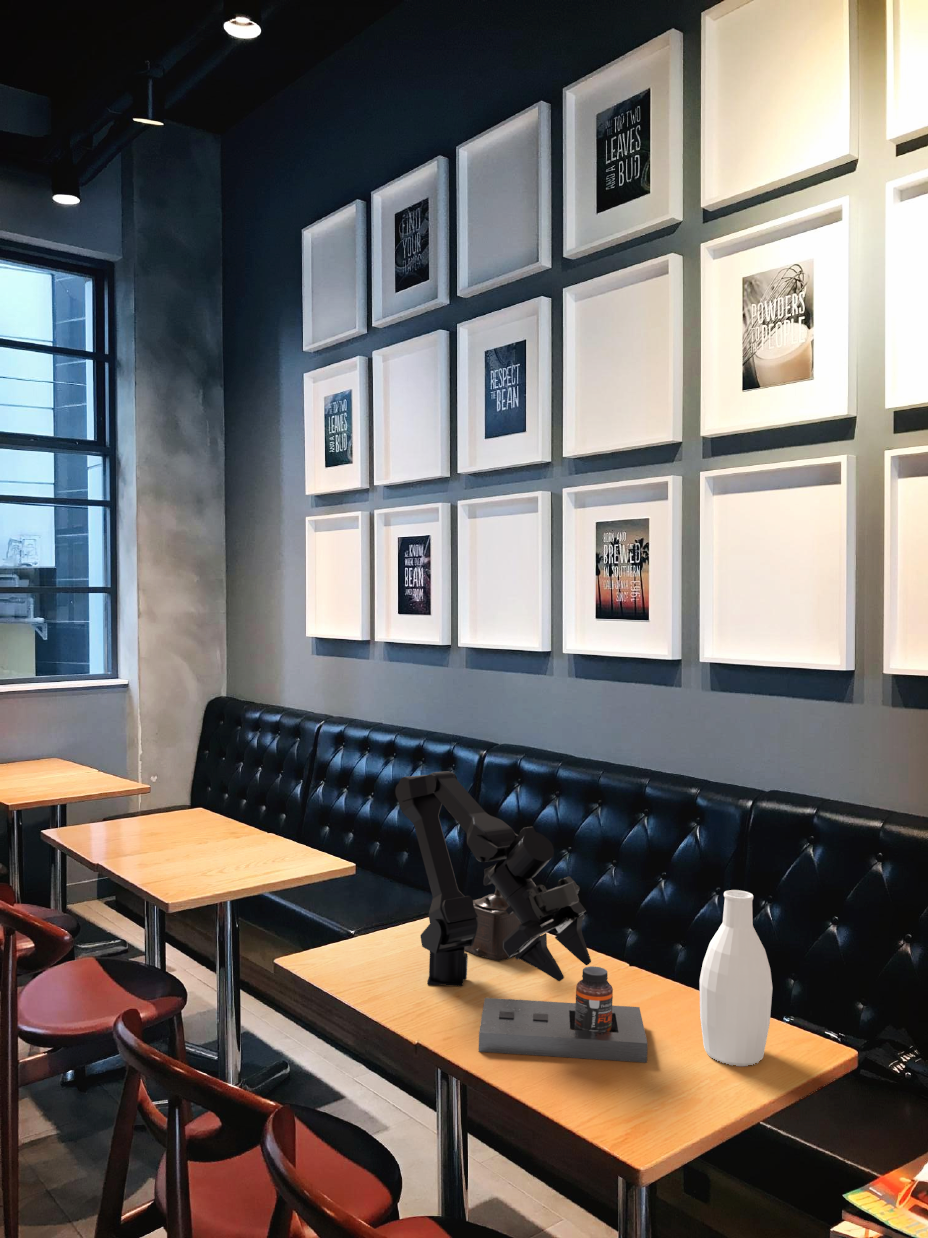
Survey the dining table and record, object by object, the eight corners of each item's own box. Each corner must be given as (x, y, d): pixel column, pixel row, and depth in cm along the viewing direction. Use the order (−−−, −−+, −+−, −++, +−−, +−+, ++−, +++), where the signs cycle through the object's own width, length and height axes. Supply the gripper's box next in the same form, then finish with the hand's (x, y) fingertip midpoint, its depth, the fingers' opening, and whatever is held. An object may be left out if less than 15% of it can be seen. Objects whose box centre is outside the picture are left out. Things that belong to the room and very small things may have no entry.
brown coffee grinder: (457, 950, 203) (459, 861, 202) (493, 938, 211) (495, 852, 211) (515, 970, 192) (518, 877, 192) (551, 957, 200) (554, 867, 200)
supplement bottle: (601, 1051, 158) (604, 980, 158) (567, 1042, 161) (569, 971, 161) (617, 1038, 163) (619, 969, 163) (583, 1029, 166) (585, 961, 166)
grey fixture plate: (478, 1051, 157) (479, 1031, 157) (484, 1015, 171) (484, 996, 171) (646, 1062, 155) (647, 1042, 155) (638, 1025, 169) (639, 1006, 168)
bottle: (767, 1043, 163) (772, 887, 162) (773, 1074, 152) (779, 907, 151) (696, 1035, 165) (701, 881, 165) (698, 1065, 154) (703, 900, 154)
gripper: (520, 875, 159) (580, 960, 153) (576, 853, 174) (633, 929, 168) (478, 915, 164) (534, 999, 158) (536, 890, 179) (590, 966, 173)
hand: (575, 971), depth 164 cm, fingers open, 9 cm apart
